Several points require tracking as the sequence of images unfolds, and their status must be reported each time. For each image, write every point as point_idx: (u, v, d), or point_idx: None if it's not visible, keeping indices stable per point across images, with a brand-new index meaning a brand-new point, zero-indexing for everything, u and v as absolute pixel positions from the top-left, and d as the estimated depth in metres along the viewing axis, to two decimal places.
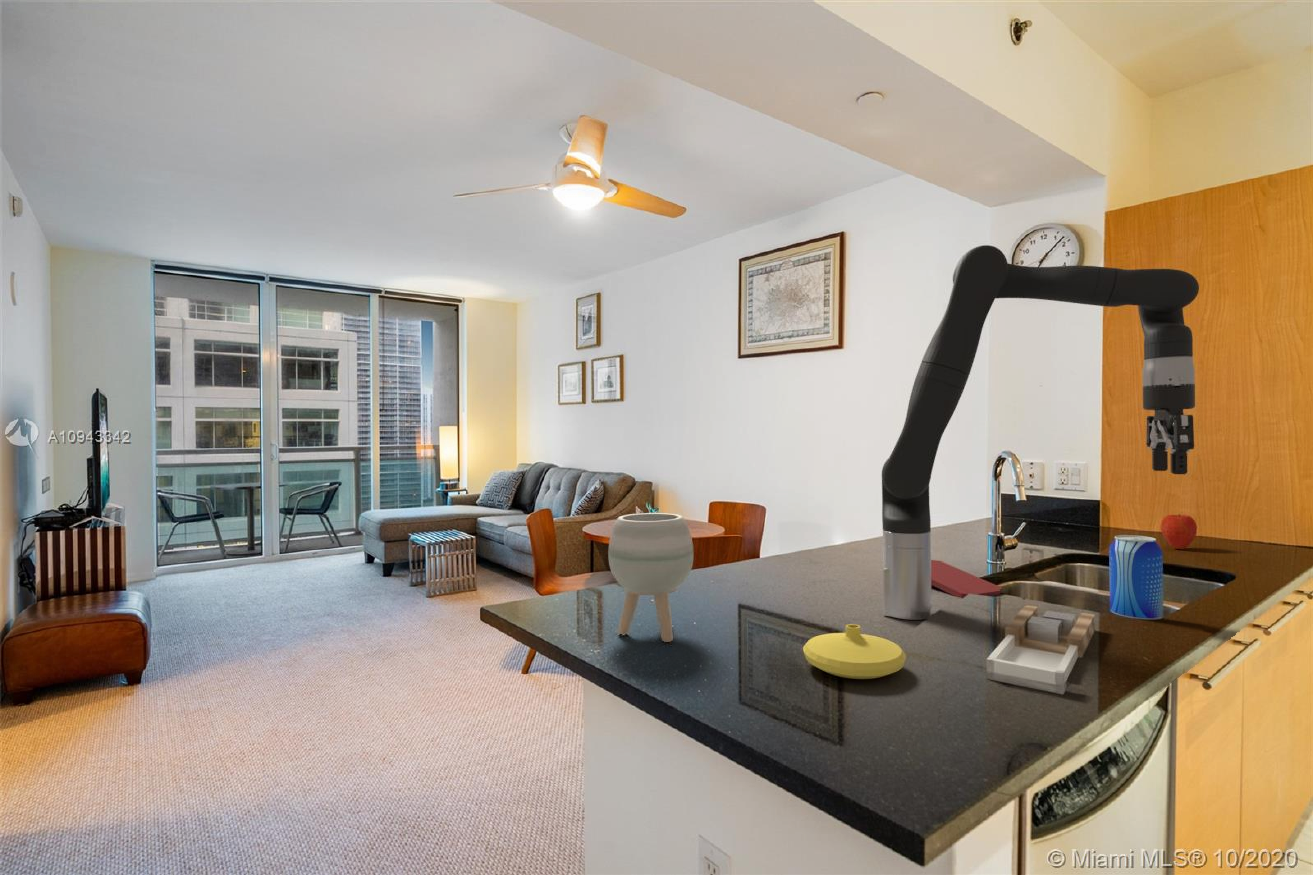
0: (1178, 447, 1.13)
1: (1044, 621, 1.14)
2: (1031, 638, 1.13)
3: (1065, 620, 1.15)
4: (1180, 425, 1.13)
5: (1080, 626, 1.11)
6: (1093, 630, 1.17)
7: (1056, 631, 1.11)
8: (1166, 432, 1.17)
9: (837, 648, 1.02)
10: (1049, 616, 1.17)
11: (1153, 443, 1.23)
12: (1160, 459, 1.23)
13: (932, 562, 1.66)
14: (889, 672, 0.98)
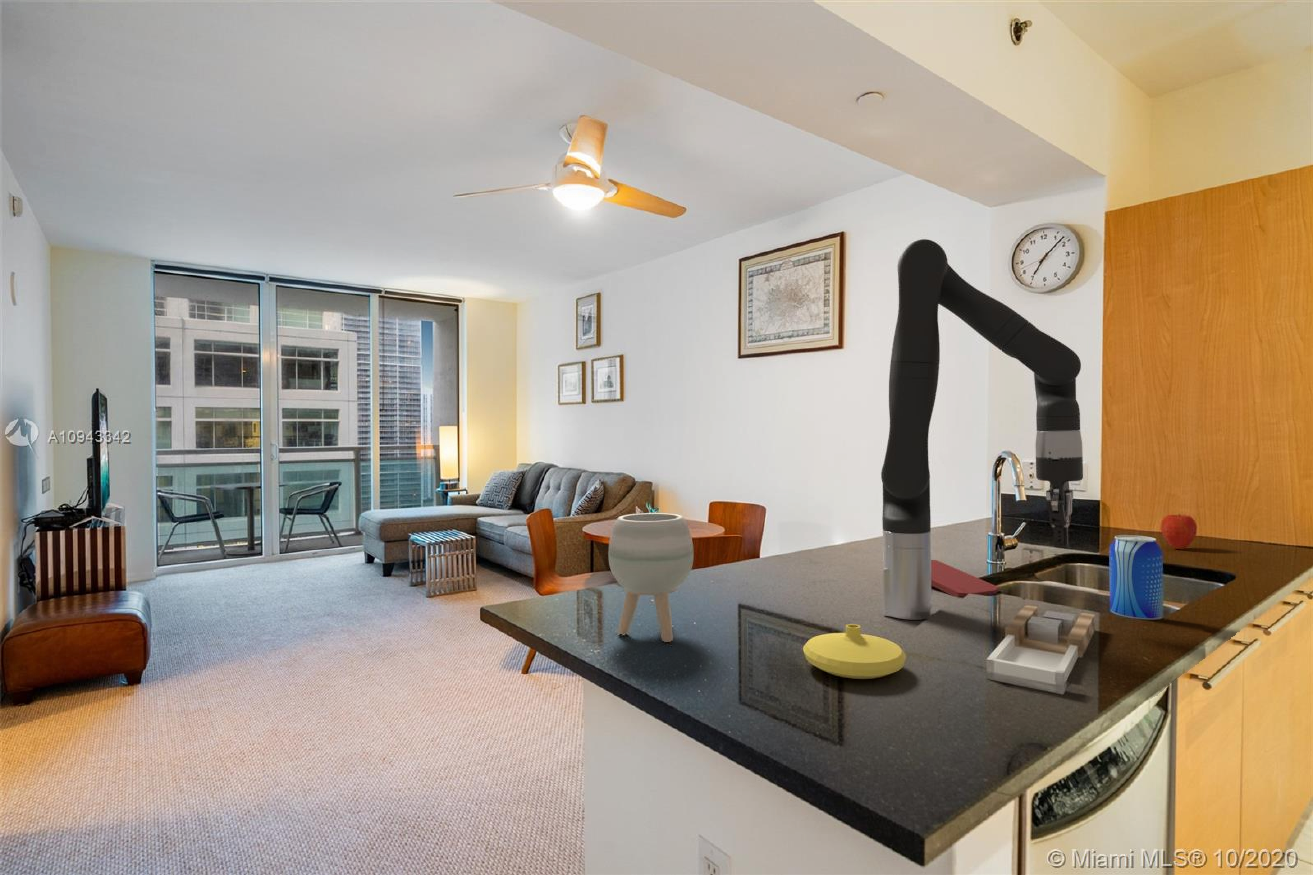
0: (1051, 524, 1.21)
1: (1044, 621, 1.14)
2: (1031, 638, 1.13)
3: (1065, 620, 1.15)
4: (1052, 510, 1.19)
5: (1080, 626, 1.11)
6: (1093, 630, 1.17)
7: (1056, 631, 1.11)
8: None
9: (836, 648, 1.02)
10: (1049, 616, 1.17)
11: None
12: None
13: None
14: (889, 672, 0.98)
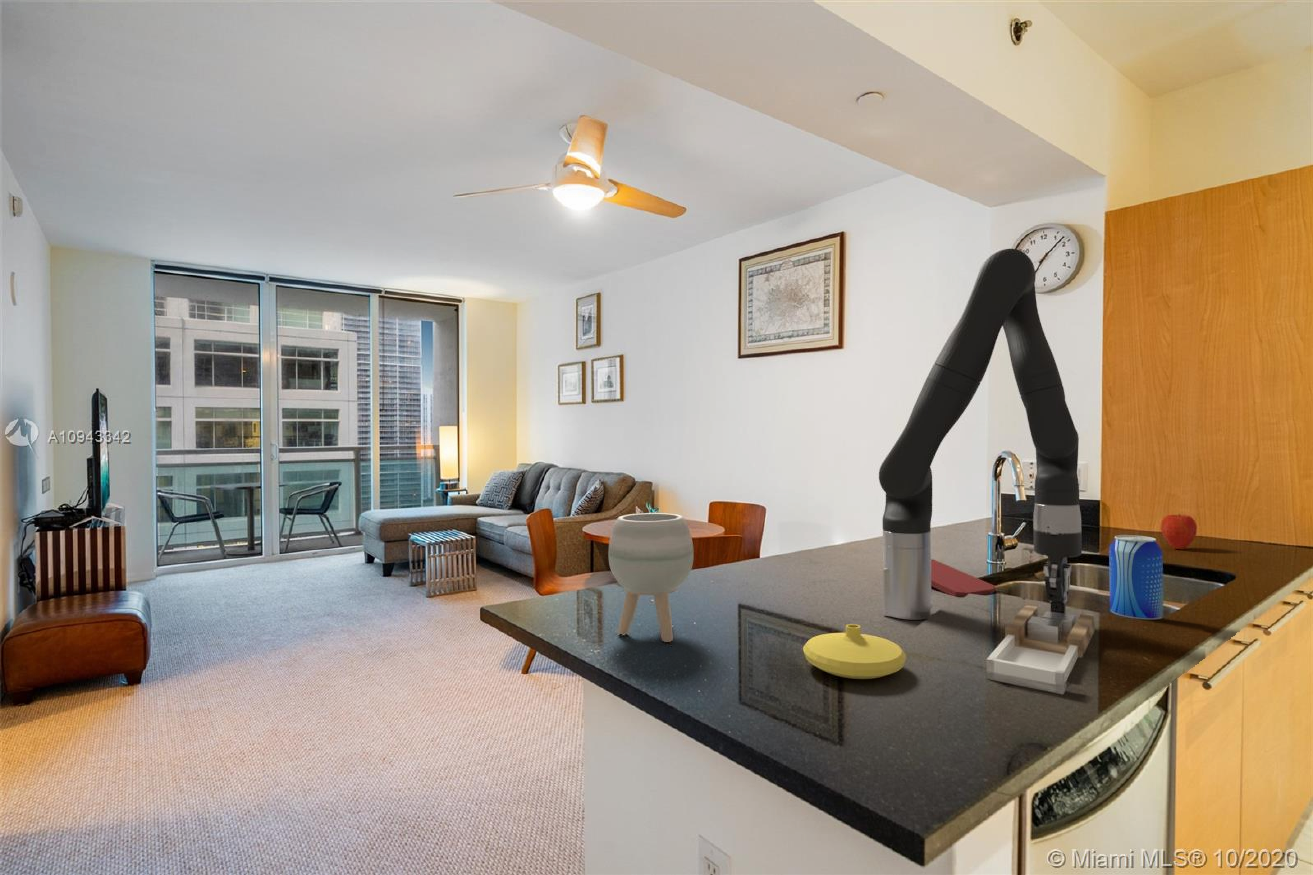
0: (1049, 600, 1.19)
1: (1044, 621, 1.14)
2: (1031, 638, 1.13)
3: (1065, 621, 1.14)
4: (1050, 586, 1.17)
5: (1080, 626, 1.11)
6: (1093, 630, 1.17)
7: (1056, 631, 1.11)
8: None
9: (837, 648, 1.02)
10: (1049, 617, 1.17)
11: None
12: None
13: None
14: (889, 672, 0.98)
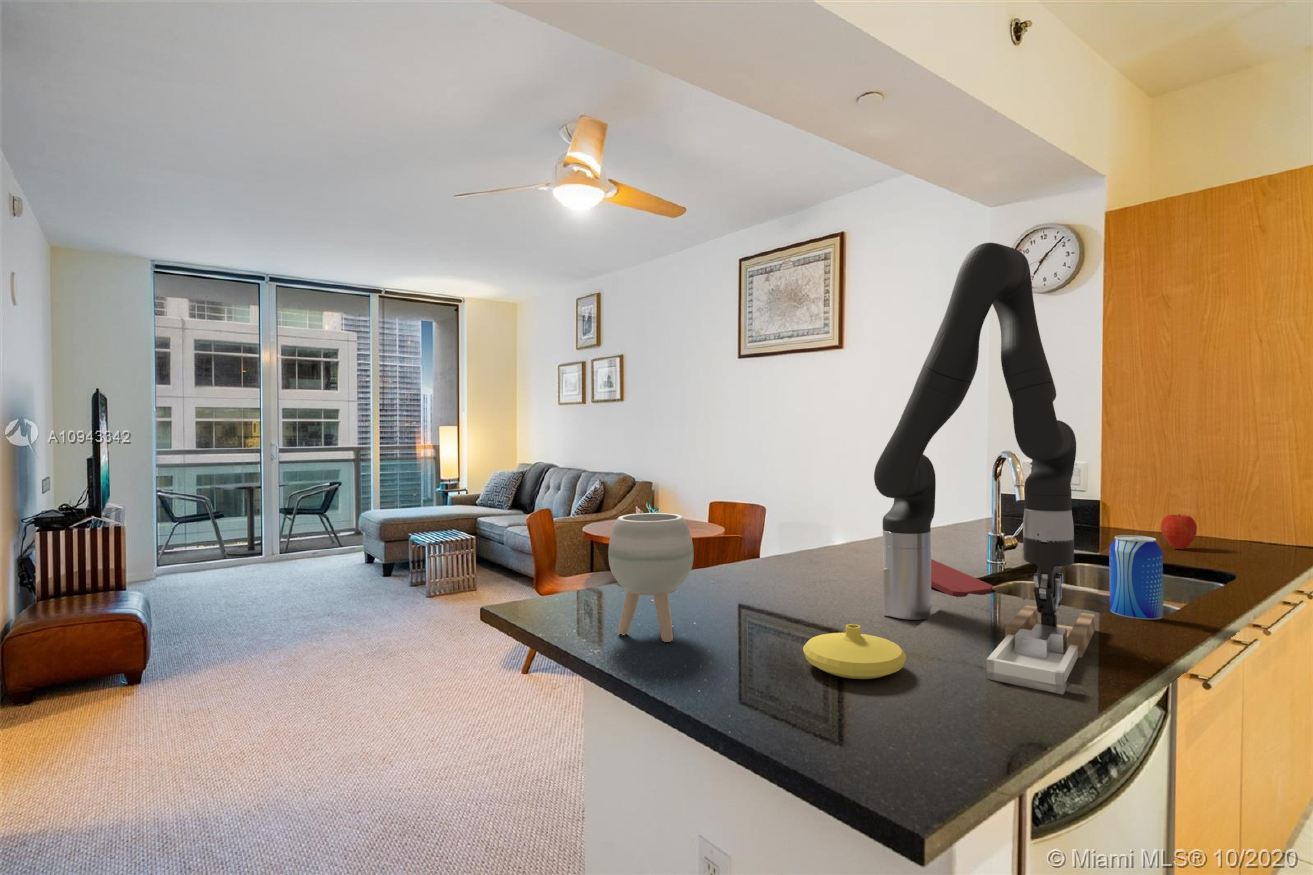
0: (1039, 612, 1.12)
1: (1032, 634, 1.07)
2: (1018, 652, 1.06)
3: (1055, 635, 1.07)
4: (1040, 598, 1.09)
5: (1080, 626, 1.11)
6: (1093, 630, 1.17)
7: (1045, 645, 1.04)
8: None
9: (836, 648, 1.02)
10: (1038, 630, 1.09)
11: None
12: None
13: None
14: (889, 672, 0.98)
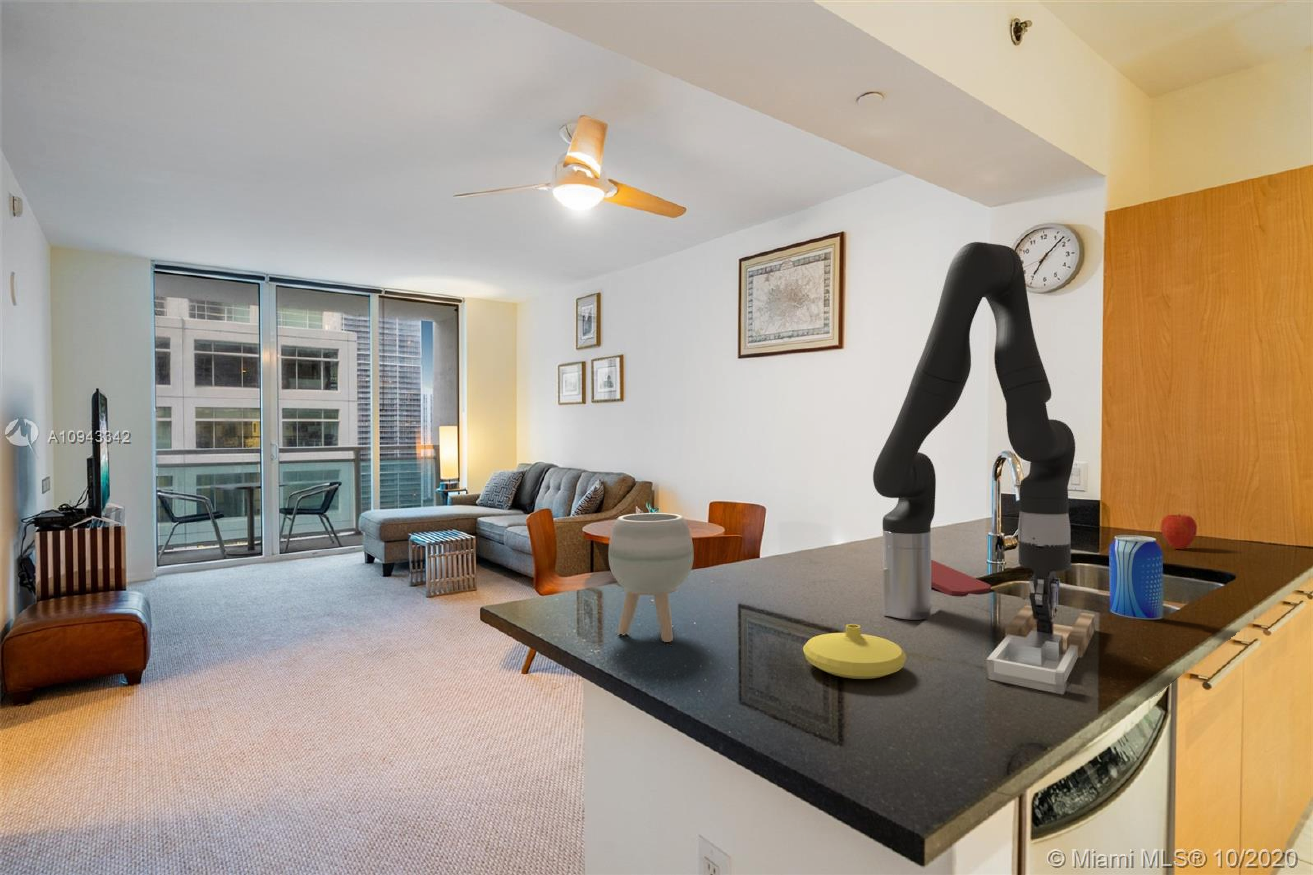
0: None
1: (1026, 641, 1.03)
2: (1012, 660, 1.03)
3: (1051, 642, 1.03)
4: (1036, 604, 1.06)
5: (1080, 626, 1.11)
6: (1093, 630, 1.17)
7: (1039, 653, 1.00)
8: None
9: (836, 648, 1.02)
10: (1033, 637, 1.05)
11: None
12: None
13: None
14: (889, 672, 0.98)
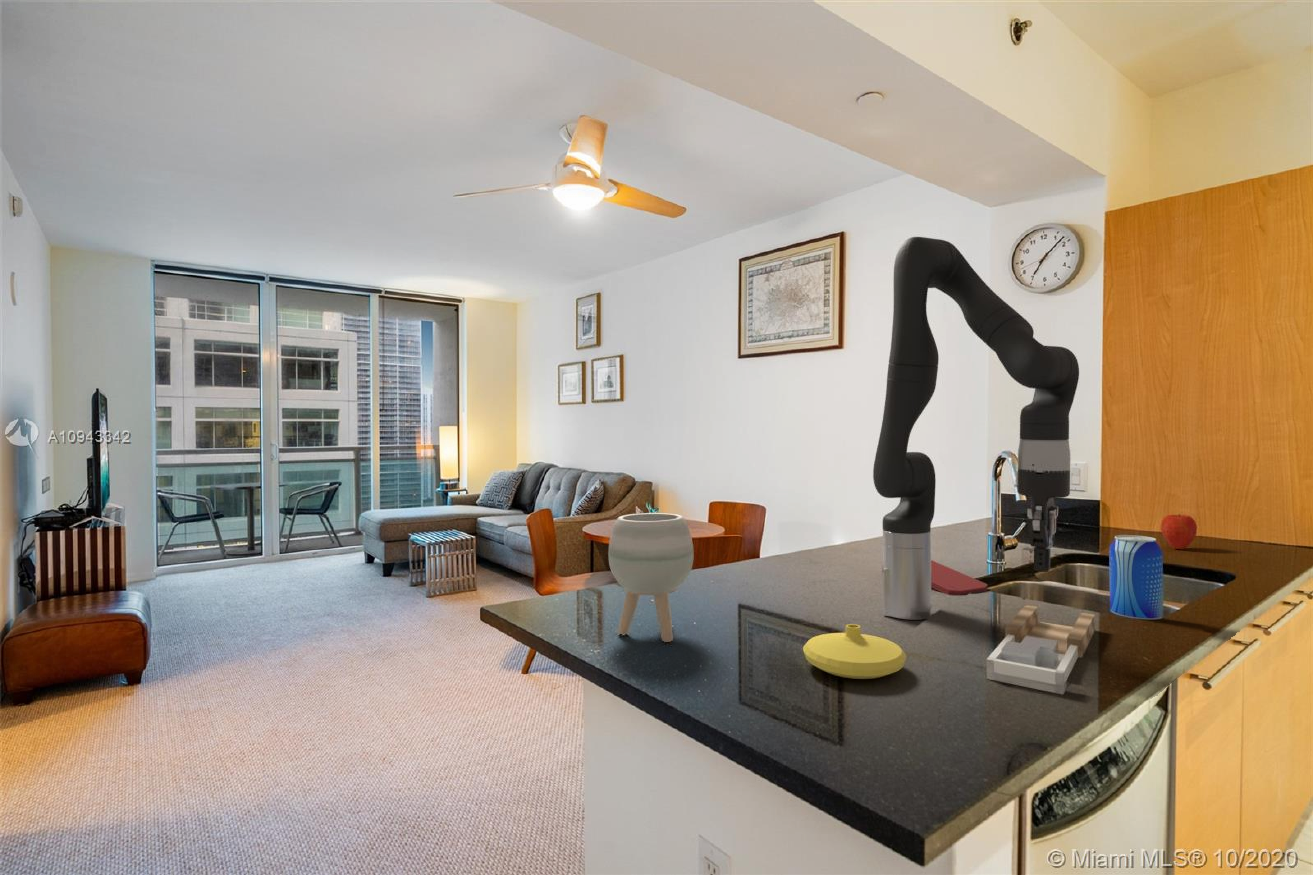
0: (1032, 546, 1.07)
1: (1020, 647, 1.01)
2: None
3: (1046, 648, 1.01)
4: (1033, 530, 1.05)
5: (1080, 626, 1.11)
6: (1093, 630, 1.17)
7: (1033, 659, 0.98)
8: None
9: (836, 648, 1.02)
10: (1028, 643, 1.03)
11: None
12: None
13: None
14: (889, 672, 0.98)
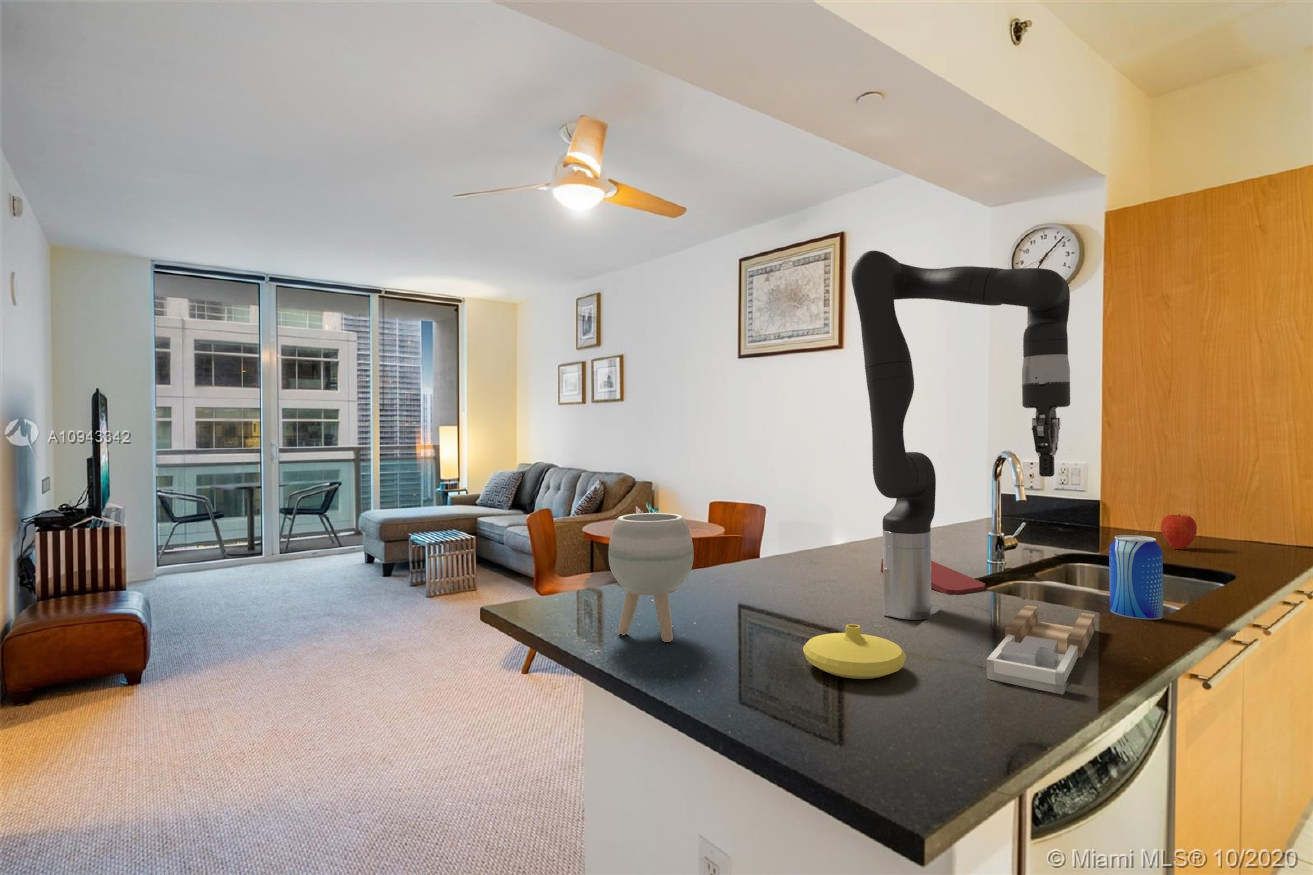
0: (1037, 452, 1.18)
1: (1020, 647, 1.01)
2: None
3: (1046, 648, 1.01)
4: (1038, 435, 1.16)
5: (1080, 626, 1.11)
6: (1093, 630, 1.17)
7: (1033, 659, 0.98)
8: None
9: (836, 648, 1.02)
10: (1028, 643, 1.03)
11: None
12: None
13: None
14: (889, 672, 0.98)
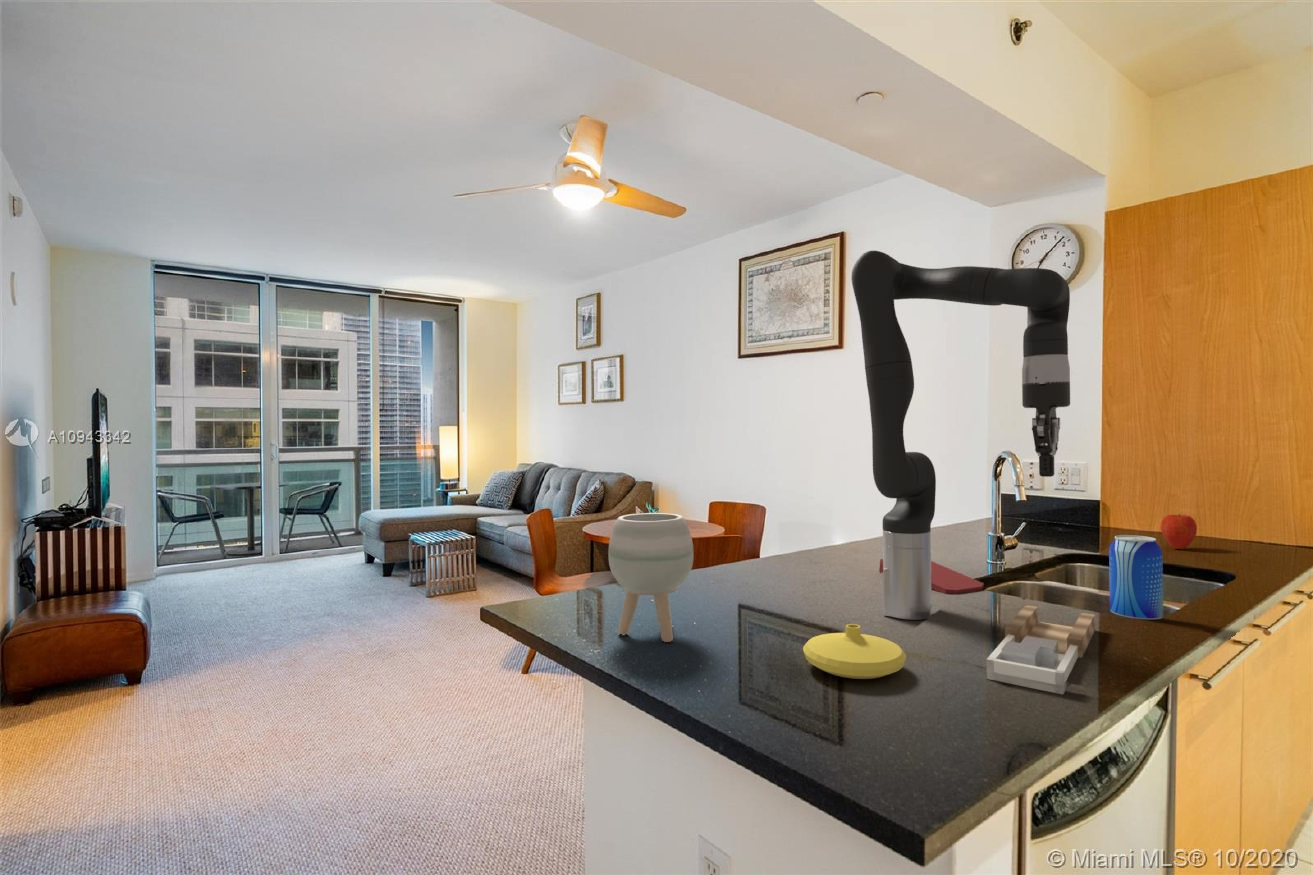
0: (1037, 452, 1.18)
1: (1020, 647, 1.01)
2: None
3: (1046, 648, 1.01)
4: (1038, 435, 1.16)
5: (1080, 626, 1.11)
6: (1093, 630, 1.17)
7: (1033, 659, 0.98)
8: None
9: (836, 648, 1.02)
10: (1028, 643, 1.03)
11: None
12: None
13: None
14: (889, 672, 0.98)
